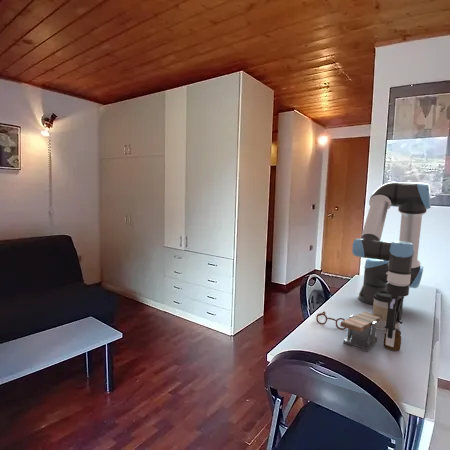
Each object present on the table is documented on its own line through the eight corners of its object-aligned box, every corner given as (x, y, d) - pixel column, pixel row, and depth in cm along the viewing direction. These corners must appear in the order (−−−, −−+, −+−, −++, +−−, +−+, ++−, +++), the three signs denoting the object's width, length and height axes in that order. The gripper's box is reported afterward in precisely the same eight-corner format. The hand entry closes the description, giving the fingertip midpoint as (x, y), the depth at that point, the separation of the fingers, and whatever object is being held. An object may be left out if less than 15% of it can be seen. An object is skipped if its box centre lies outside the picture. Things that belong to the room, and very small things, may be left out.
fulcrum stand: (353, 333, 135) (355, 311, 134) (377, 341, 129) (380, 318, 128) (342, 343, 126) (344, 319, 125) (368, 352, 120) (370, 327, 119)
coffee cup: (396, 332, 138) (400, 298, 136) (373, 329, 139) (376, 295, 138) (390, 323, 146) (393, 291, 145) (368, 321, 148) (371, 289, 146)
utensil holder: (390, 352, 121) (393, 321, 119) (378, 344, 127) (381, 314, 125) (404, 351, 122) (407, 320, 120) (392, 342, 128) (395, 313, 127)
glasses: (315, 323, 145) (316, 312, 144) (324, 314, 155) (325, 304, 155) (346, 331, 137) (347, 320, 137) (353, 321, 148) (354, 311, 148)
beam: (364, 314, 140) (364, 311, 139) (381, 319, 135) (382, 315, 135) (340, 326, 118) (340, 321, 118) (360, 332, 114) (360, 327, 113)
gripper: (393, 276, 131) (387, 331, 134) (379, 286, 116) (373, 347, 119) (414, 280, 126) (408, 337, 129) (403, 291, 111) (396, 355, 114)
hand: (391, 342), depth 124 cm, fingers closed on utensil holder, 6 cm apart
